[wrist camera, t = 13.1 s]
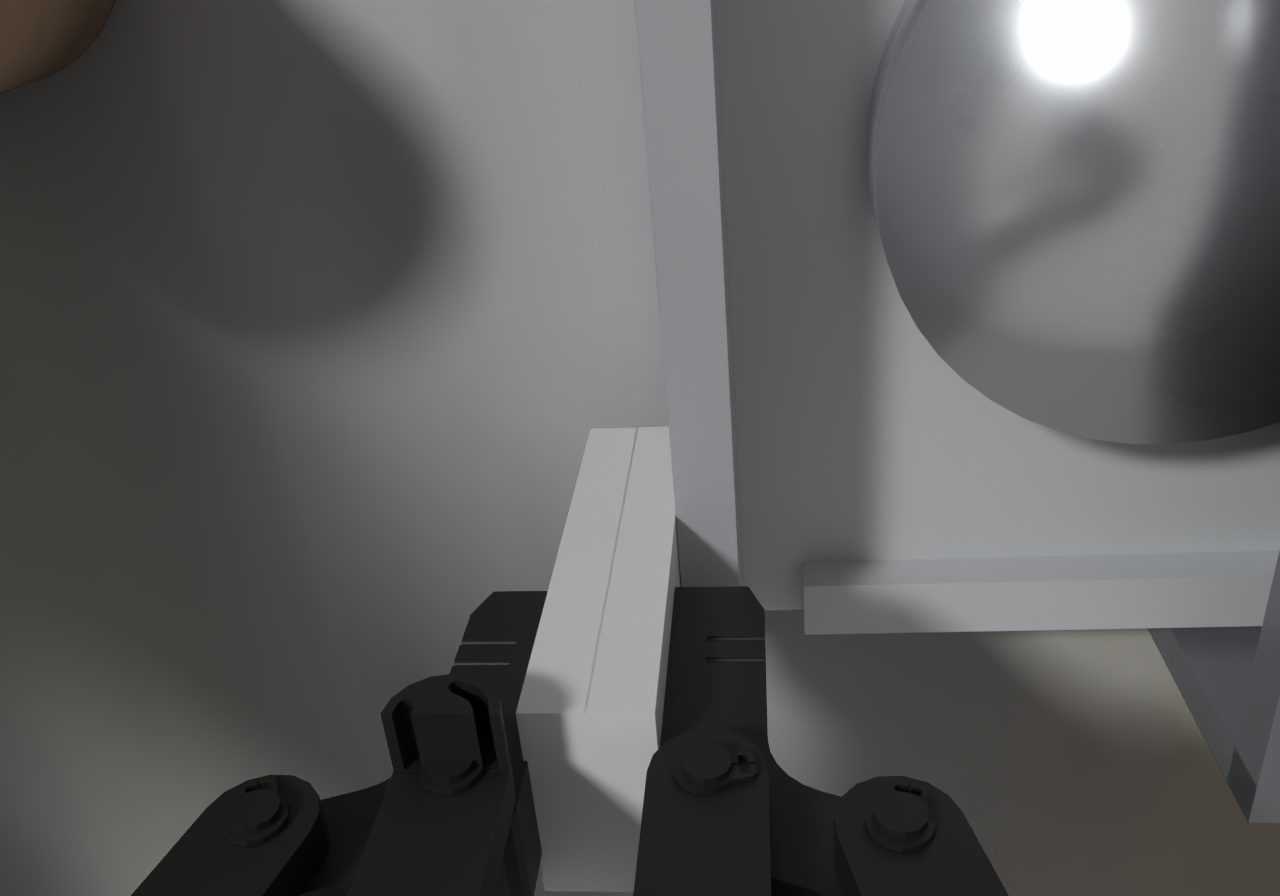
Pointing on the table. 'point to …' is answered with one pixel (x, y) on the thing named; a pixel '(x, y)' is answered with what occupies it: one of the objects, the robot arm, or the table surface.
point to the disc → (1089, 207)
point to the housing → (1235, 700)
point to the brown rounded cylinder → (45, 36)
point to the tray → (884, 381)
